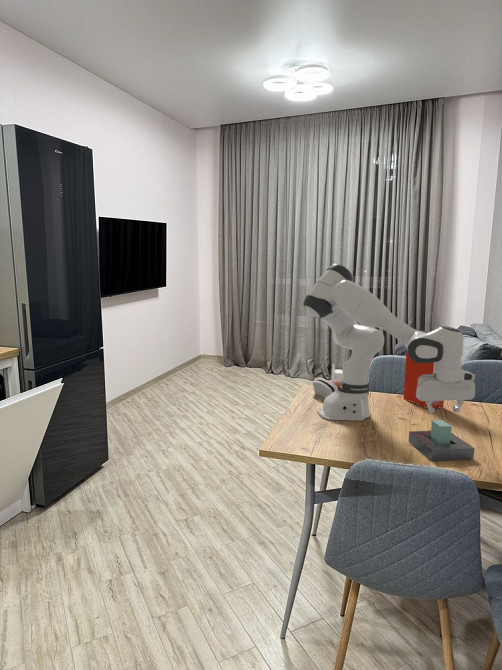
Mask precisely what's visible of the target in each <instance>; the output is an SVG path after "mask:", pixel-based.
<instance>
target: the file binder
mask: <svg viewBox="0 0 502 670" xmlns="http://www.w3.org/2000/svg"><path fill="white" fill-rule="evenodd" d="M405 355H406V356H405V368H404V382H403V383H404V384H403V385H404V386H403V388H404V389H403V399H404V400H405V399H407V400H410V401H413V402H415V403H418V404H420V405H423V406H425V407H428V406H427V404H426V402H425V401H420V400H419V399H418V398H417V397H416V391H417V386H418V378H419V377H420V376H422V375H423V374H433V370H434V362H433V363H417V362H414V361H413V360H412V359H411V358H410V357H409V355H408V352H407V349H406V353H405ZM407 400H406V401H407ZM410 401H409V402H410ZM413 402H412V403H413ZM415 403H414V404H415ZM444 403H445V401H432V404H431V406H432V407H433V408H437V409H440V408H439V407H442V408H444ZM418 404H417V405H418ZM420 405H419V406H420ZM423 406H422V407H423ZM425 407H424V408H425Z"/></svg>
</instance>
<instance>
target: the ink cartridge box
mask: <svg viewBox="0 0 502 670" xmlns="http://www.w3.org/2000/svg"><path fill="white" fill-rule="evenodd" d="M342 373H343V369H336V367H335V364H334V363H332V365H331V379H330V383H332V384H333V385H334V386H335V387H336V390H337V386H336V385H335V384H334V382H335V381H338V382H339V383H340V382H341V381H342Z"/></svg>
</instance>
